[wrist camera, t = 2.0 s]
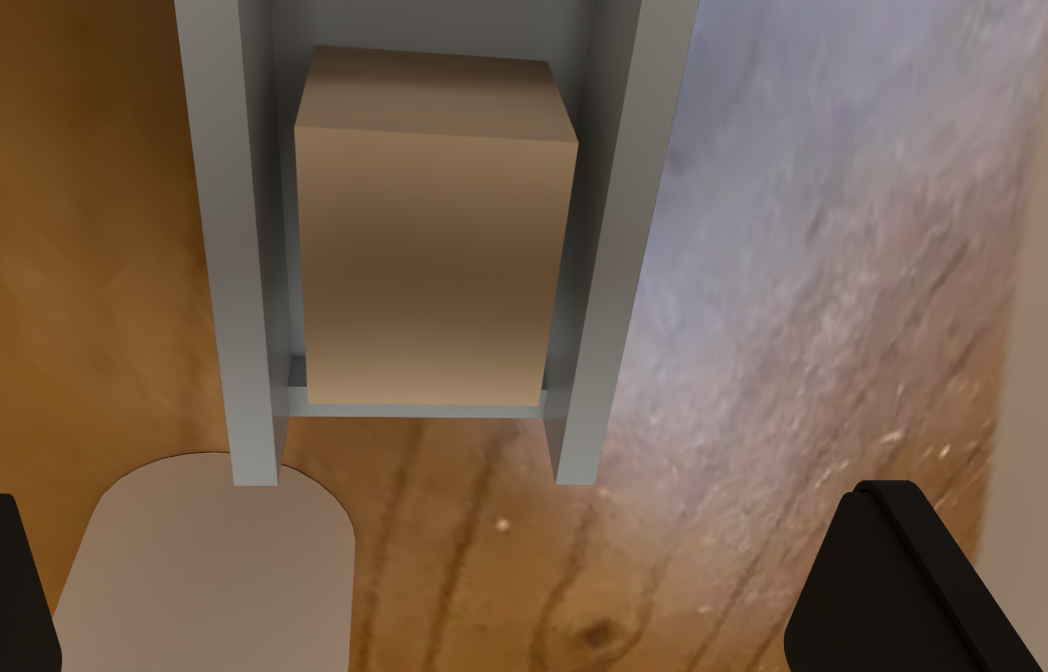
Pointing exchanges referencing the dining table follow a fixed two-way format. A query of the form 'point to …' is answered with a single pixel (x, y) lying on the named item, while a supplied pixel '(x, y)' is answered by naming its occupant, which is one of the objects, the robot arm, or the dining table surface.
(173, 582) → the cylindrical container
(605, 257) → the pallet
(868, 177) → the dining table surface
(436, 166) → the tan block
